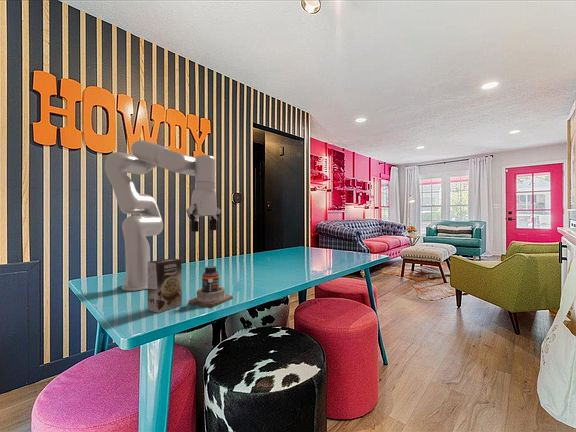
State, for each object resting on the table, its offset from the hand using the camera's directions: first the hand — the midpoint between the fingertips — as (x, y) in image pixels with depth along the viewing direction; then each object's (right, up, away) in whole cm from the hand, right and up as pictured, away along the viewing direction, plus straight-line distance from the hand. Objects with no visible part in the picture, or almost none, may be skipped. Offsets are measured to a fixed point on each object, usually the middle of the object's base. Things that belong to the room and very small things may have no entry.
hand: (204, 230), depth 110 cm
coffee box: (-9, -26, -15) cm, 31 cm away
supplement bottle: (+5, -24, -8) cm, 26 cm away
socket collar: (+5, -25, -9) cm, 27 cm away
